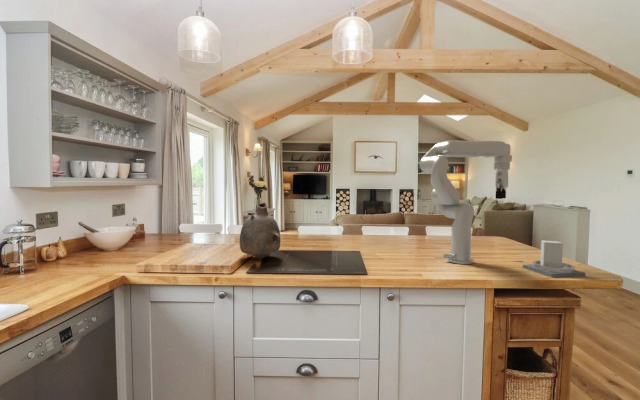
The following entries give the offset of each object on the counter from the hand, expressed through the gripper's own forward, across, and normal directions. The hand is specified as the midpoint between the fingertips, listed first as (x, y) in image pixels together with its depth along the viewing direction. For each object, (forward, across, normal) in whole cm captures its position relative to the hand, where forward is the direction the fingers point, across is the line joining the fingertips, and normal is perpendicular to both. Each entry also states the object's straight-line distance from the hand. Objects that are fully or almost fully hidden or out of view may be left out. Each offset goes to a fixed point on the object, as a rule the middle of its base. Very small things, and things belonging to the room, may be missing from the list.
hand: (500, 198), depth 181 cm
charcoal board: (+33, -14, -25) cm, 44 cm away
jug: (+34, -83, +100) cm, 134 cm away
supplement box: (+32, -14, -24) cm, 43 cm away
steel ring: (+32, -14, -25) cm, 43 cm away
